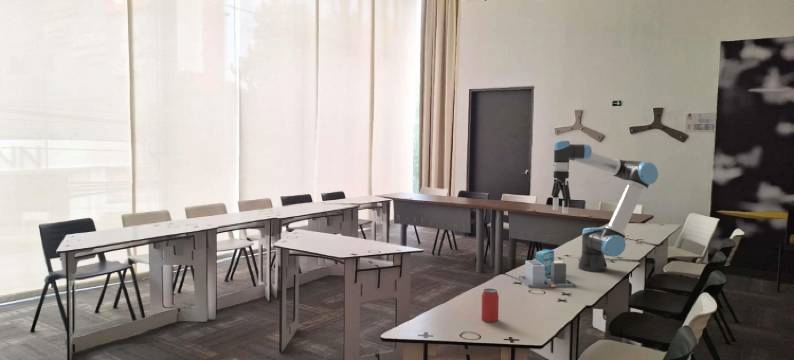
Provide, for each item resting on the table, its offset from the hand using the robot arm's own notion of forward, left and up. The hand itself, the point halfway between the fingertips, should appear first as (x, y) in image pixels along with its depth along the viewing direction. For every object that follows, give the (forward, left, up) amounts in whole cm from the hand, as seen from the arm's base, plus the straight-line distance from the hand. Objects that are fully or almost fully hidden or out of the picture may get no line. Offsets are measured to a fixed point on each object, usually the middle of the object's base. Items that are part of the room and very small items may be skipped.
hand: (560, 211), depth 272 cm
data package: (+4, -10, -35) cm, 37 cm away
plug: (+4, +10, -34) cm, 36 cm away
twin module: (+16, +10, -34) cm, 39 cm away
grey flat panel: (+10, +10, -35) cm, 37 cm away
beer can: (+51, +62, -35) cm, 88 cm away
